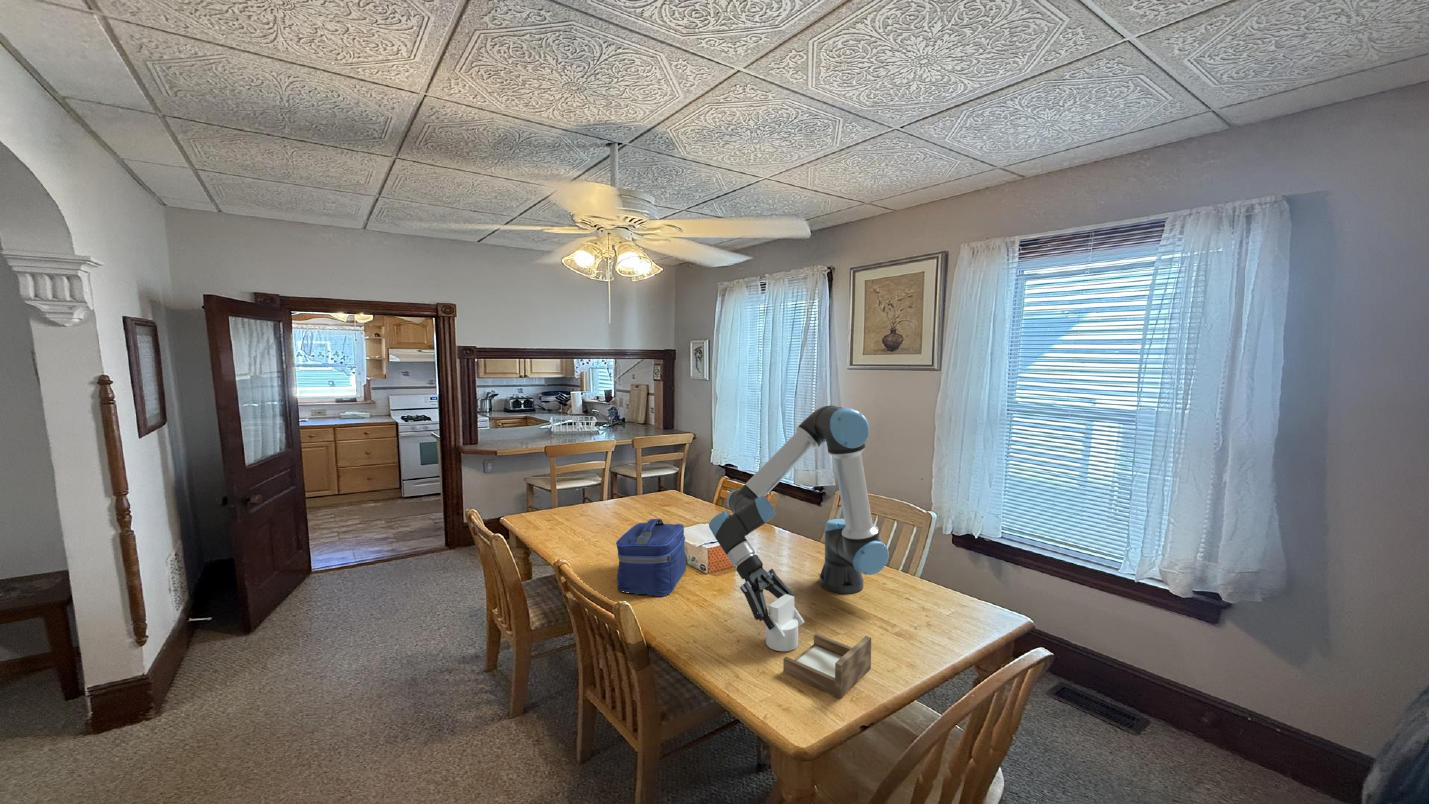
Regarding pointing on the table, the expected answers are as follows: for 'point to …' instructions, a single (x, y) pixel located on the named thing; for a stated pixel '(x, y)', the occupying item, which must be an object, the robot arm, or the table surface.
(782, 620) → the base with upright slab
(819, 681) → the walnut rest
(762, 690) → the table surface
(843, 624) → the table surface
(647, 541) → the lunch bag
